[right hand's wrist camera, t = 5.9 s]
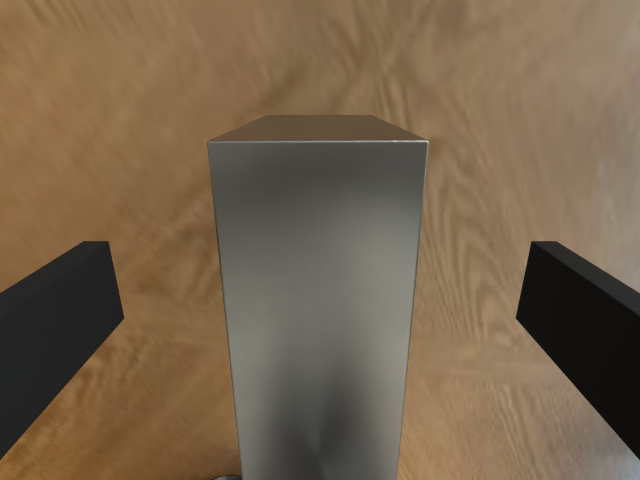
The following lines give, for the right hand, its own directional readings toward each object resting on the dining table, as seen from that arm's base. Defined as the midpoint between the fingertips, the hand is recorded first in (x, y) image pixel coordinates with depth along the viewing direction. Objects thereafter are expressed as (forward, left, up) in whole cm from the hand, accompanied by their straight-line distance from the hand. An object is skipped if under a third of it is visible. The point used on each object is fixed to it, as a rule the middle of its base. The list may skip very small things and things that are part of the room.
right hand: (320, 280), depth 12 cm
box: (0, +7, -12) cm, 14 cm away
